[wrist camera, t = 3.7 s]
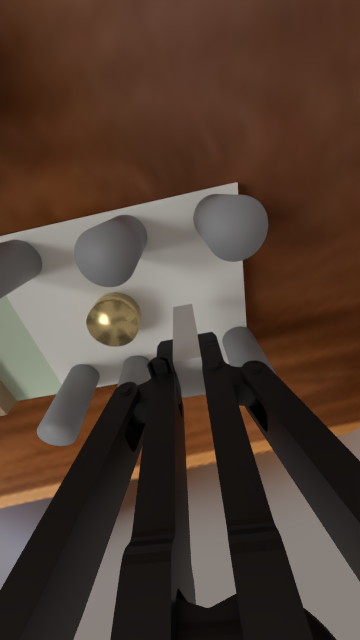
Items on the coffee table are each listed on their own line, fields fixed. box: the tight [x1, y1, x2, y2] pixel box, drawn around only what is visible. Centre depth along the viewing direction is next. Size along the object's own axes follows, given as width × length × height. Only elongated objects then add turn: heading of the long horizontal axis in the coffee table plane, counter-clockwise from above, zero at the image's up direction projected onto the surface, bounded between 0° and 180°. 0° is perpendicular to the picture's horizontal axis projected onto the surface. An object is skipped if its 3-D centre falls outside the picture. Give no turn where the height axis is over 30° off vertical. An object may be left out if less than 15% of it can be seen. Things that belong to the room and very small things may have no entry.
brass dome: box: [86, 292, 141, 347], centre depth 21 cm, size 4×4×2 cm
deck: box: [0, 182, 277, 446], centre depth 19 cm, size 29×17×8 cm, turn 101°
